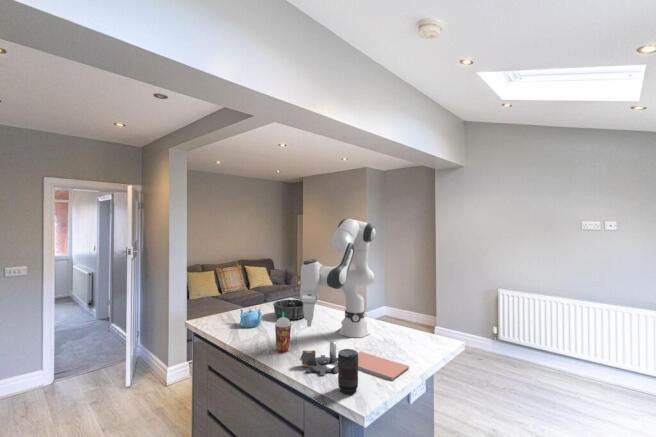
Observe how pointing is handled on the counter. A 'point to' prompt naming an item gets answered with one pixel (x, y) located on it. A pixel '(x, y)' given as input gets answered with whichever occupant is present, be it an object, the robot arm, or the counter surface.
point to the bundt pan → (289, 309)
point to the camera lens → (348, 371)
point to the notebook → (380, 366)
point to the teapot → (250, 318)
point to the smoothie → (282, 334)
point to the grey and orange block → (308, 357)
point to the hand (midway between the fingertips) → (309, 324)
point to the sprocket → (325, 362)
